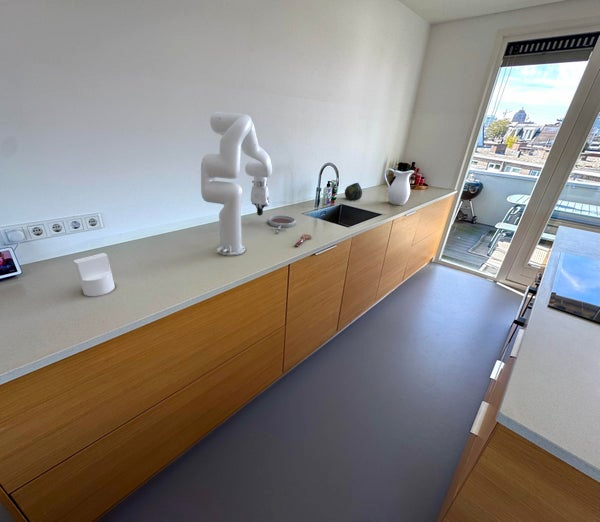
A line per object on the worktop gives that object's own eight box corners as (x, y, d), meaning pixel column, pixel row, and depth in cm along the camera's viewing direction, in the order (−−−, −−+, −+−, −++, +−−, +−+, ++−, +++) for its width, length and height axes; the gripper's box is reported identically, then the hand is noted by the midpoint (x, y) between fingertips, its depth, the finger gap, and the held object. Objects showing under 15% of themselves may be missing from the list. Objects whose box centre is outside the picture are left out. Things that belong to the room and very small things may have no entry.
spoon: (300, 248, 143) (300, 245, 142) (291, 246, 145) (291, 243, 144) (312, 237, 158) (312, 234, 158) (303, 235, 160) (304, 232, 159)
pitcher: (409, 203, 247) (417, 170, 235) (404, 207, 234) (412, 172, 222) (382, 198, 258) (388, 166, 246) (376, 202, 245) (382, 168, 232)
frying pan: (261, 228, 158) (270, 213, 183) (261, 233, 160) (270, 218, 184) (292, 231, 157) (297, 216, 182) (291, 236, 159) (296, 220, 184)
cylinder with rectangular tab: (108, 280, 105) (101, 250, 100) (119, 289, 100) (111, 258, 95) (79, 289, 98) (69, 257, 93) (89, 299, 94) (79, 266, 88)
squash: (338, 191, 245) (351, 180, 235) (347, 190, 256) (359, 179, 246) (347, 205, 243) (360, 194, 233) (356, 203, 254) (368, 192, 244)
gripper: (245, 183, 164) (245, 214, 172) (268, 186, 160) (268, 218, 167) (252, 181, 171) (252, 211, 178) (274, 184, 166) (273, 215, 174)
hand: (259, 214), depth 173 cm, fingers closed
